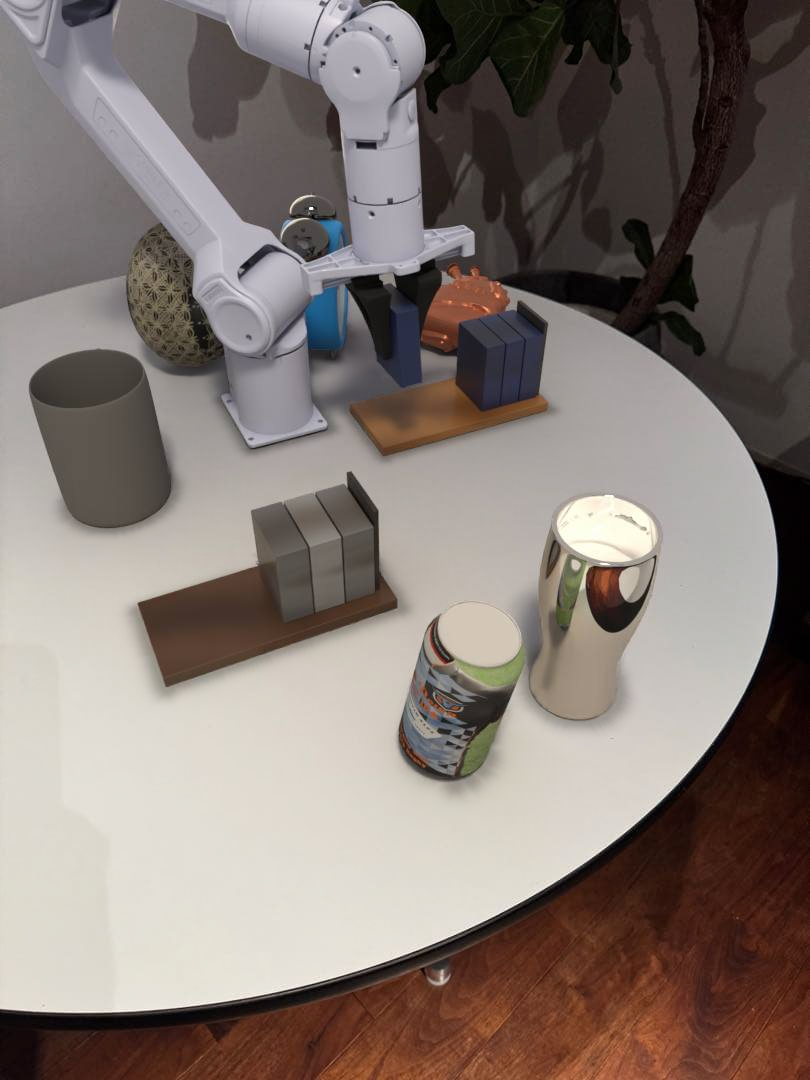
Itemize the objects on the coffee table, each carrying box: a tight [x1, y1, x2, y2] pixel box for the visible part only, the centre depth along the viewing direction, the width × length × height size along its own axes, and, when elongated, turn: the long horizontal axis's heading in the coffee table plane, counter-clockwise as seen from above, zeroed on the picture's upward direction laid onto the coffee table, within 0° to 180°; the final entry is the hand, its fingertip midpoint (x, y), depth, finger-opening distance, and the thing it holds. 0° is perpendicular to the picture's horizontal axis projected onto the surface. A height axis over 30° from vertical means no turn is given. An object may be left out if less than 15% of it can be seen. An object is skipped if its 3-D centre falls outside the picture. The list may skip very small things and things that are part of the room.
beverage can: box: [398, 599, 526, 779], centre depth 54 cm, size 6×7×12 cm
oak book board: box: [349, 299, 549, 457], centre depth 84 cm, size 8×18×9 cm, turn 115°
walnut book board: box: [137, 470, 398, 688], centre depth 64 cm, size 8×18×9 cm, turn 116°
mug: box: [28, 348, 171, 528], centre depth 74 cm, size 14×9×12 cm
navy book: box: [375, 282, 423, 389], centre depth 75 cm, size 6×2×7 cm, turn 25°
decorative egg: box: [125, 222, 241, 368], centre depth 88 cm, size 12×12×15 cm
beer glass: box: [529, 491, 664, 721], centre depth 56 cm, size 7×7×15 cm
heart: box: [420, 262, 511, 353], centre depth 97 cm, size 6×12×15 cm
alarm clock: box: [278, 192, 349, 360], centre depth 91 cm, size 13×6×15 cm, turn 178°
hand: (396, 351), depth 76 cm, fingers closed on navy book, 2 cm apart
